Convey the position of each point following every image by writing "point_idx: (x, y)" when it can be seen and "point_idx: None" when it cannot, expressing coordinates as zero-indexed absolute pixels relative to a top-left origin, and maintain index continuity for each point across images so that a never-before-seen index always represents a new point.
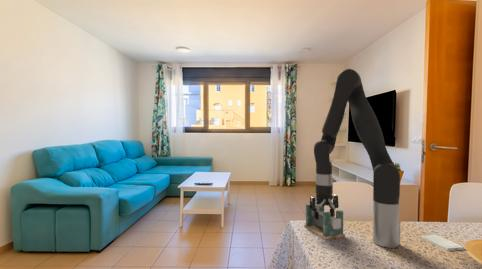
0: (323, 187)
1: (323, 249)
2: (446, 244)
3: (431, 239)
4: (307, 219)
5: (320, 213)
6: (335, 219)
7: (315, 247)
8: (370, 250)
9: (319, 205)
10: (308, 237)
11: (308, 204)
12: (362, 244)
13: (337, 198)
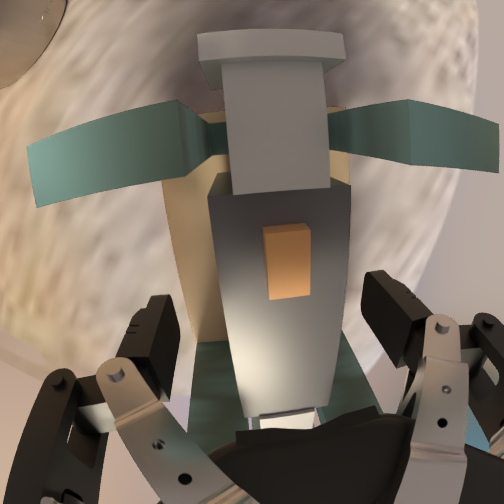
0: None
1: (413, 26)
2: None
3: None
4: (352, 355)
5: (303, 361)
6: (314, 31)
7: (439, 62)
8: None
9: (464, 382)
10: (415, 183)
11: None
12: (134, 3)
13: (15, 492)
